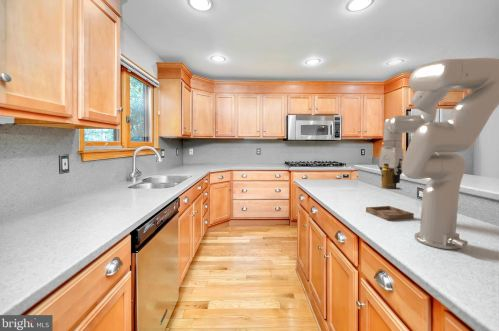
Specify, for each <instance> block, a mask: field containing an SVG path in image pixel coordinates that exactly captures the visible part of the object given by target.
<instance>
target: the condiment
mask: <svg viewBox="0 0 499 331" xmlns="http://www.w3.org/2000/svg"><path fill="white" fill-rule="evenodd" d="M388 166H389V164H384V168H383V171H382V173H381V186H379V187H380V189H383V190H397V191H399V190H404V189H402V188H401V187H400V186H399V187H397V183H393V175H395V173H394V170H393V169H390V168H389V167H388Z"/></svg>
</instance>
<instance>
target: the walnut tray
mask: <svg viewBox="0 0 499 331" xmlns="http://www.w3.org/2000/svg"><path fill="white" fill-rule="evenodd" d="M365 213H367V214H370V215H373V216H374V217H378V218H380V219H383V220H385V221H400V220H411V219H412V220H413V219H414V216H415V214H414V213H413V212H410V211H407V210H403V209H400V208H397V207H395V206H391V205H384V206H383V205H382V206H367V207H366V208H365Z"/></svg>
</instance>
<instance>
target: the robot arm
mask: <svg viewBox="0 0 499 331" xmlns="http://www.w3.org/2000/svg"><path fill="white" fill-rule="evenodd" d="M408 86H409V88H410V90H412V91H414V92H415V93H414V94H413V95H412V96H411V100H410V101H411V104H412V106H413V107H415V109H417V110H419V111H420V112H421V113H420V114H418V115H417V114H415V115H413V114H412V115H411V114H410V115H393V116H392V117H389V118H386V119H384V124H383V125H384V126H383V142H382V145H383V146H382V147H381V150H380V152H379V153H380V154H379V160H378V161H379V163H378V164H377V167H378V169H379V170H380V173H381V174H382V171H383V168H384V164H389V166H388V167H389V168H390V169H393V170H394V173H395V175H393V183H396V184H400V183H401V175H402V174H403V175H404V176H405V177H406V178H408V179H411V180H428V181H427V183H425V186H424V187H423V191H422V197H421V198H422V200H421V212H420V213H421V214H420V226H419V229H420V230H419V231H418V232H416V233H414V239H415V240H416V241H417V242H419V243H421V244H424V245H425V246H430V247H433V248H437V249H443V250H458V249H466V248H467V247H468V246H467V245H468V243H469V242H468V241H467V240H466V239H461V238H460V233H457V220H458V219H457V218H458V209H459V208H458V207H459V198H460V197H459V196H460V189H461V184H462V183H461V182H462V180H463V177H464V174H465V171H466V166H467V165H466V161H465V159H464V157H462V155H460V154H458V153H462V152H465V151H468V150H470V149H471V148H472V147H473V146H474V144H475V142H476V141H477V139H478V138H479V136H480V134H481V133H482V131H483V130H484V127H485V126H486V125H487V123H488V122H489V119H490V117H491V116H492V114H493V112H494V111H495V109H496V108H497V107H498V106H499V58H494V57H475V58H473V57H471V58H447V59H441V60H437V61H436V60H435V61H432V62H428V63H423V64H421V65H418V66H417V67H416V68H414V70H413V71H412V73H411V74H410V76H409V79H408ZM463 90H464V91H468V90H469V91H470V90H471V92H470V93H469V94H467V95H466V96H464V97H463V98H461V100H460V101H458V102H457V103H456V104H455V106H454V107H453V109H452V111H451V113H450V115H449V117H448V118H447V120H445V121H435V120H436V117H437V113H438V109H437V105H438V104H440V102H441V101H443V100H444V98H446V96H447V95H449V93H451V91H463ZM405 133H407V134H410V133H411V134H413V135H412V137H411V139H410V142H409V144H408V146H407V150H406V151H405V153H404V149H403V134H405Z"/></svg>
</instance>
